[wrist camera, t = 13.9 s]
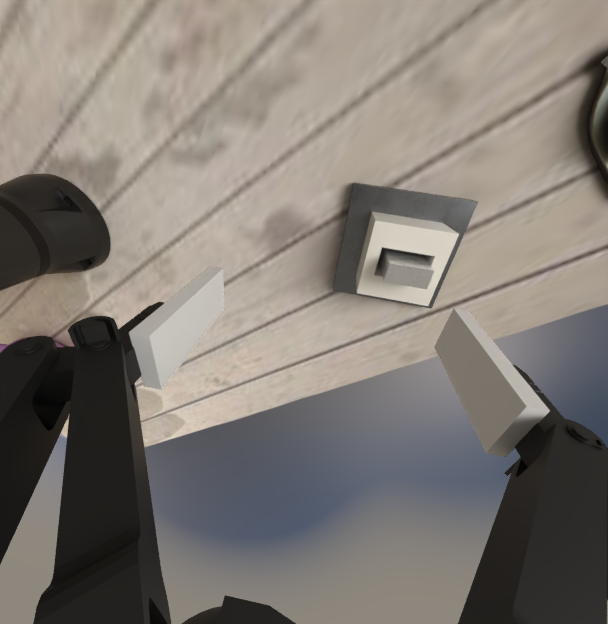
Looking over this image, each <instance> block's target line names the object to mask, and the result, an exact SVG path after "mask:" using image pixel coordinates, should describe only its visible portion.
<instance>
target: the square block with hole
mask: <svg viewBox="0 0 608 624" xmlns="http://www.w3.org/2000/svg"><path fill="white" fill-rule="evenodd" d="M458 236H459V234H458V233H457V232H455V231H454V230H452V229H451V228H449V227H448V226H447V225H445V224H444V223H440V222H434V221H428V220H422V219H415V218H409V217H403V216H397V215H390V214H384V213H378V212H372V213H371V217H370V221H369V225H368V229H367V233H366V237H365V241H364V245H363V249H362V254H361V258H360V262H359V266H358V270H357V274H356V289H357V293H359V294H364V295H370V296H375V297H381V298H386V299H391V300H397V301H402V302H408V303H413V304H419V305H424V306H428V305H429V303H430V301H431V298H432V296H433V294H434V291H435V289H436V287H437V284H438V282H439V280H440V278H441V275H442V273H443V271H444V268H445V266H446V264H447V261H448V259H449V257H450V254H451V252H452V250H453V247H454V245H455V243H456V241H457V238H458ZM382 247H383V248H389V249H395V250H401V251H407V252H412V253H418V254H422V255H423V256H424V257H425V259H426V260H427V261H428V263H429V264H430V265H431V267H432V268H433V269H434V273H433V276H432V278H431V281H430V283H429V286H428V288H427V289H421V288H415V287H410V286H404V285H398V284H393V283H387V282H384V281H383V277H382V273H381V269H380V265H379V262H378V260H379V256H380V253H381V249H382Z"/></svg>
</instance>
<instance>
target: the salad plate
mask: <svg viewBox="0 0 608 624" xmlns="http://www.w3.org/2000/svg"><path fill="white" fill-rule="evenodd" d="M601 63H602V64H603V65H604V66H605V67H607V70H606V74H605V77H604V80H603V82H602V84H601V86H600V88H599V91H598V93H597V95H596V98H595V100H594V103H593V105H592V108H591V111H590V115H589V119H588V137H589V141H590V145H591V150H592V154H593V156H594V157H595V159H596V161H597V164H598V166H599V169H600V171H601V173H602V175H603V177H604V179H605V181H606V183H607V184H608V55H607V56H606V57H605V58H604V59H603V60H602V61H601Z"/></svg>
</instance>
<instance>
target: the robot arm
mask: <svg viewBox="0 0 608 624" xmlns="http://www.w3.org/2000/svg"><path fill="white" fill-rule="evenodd" d="M109 251H110V237H109V232H108V229H107V226H106V224H105V221H104V219H103V217H102V216H101V214H100V212H99V211H98V209H97V208H96V206H95V205H94V204H93V202H92V201H91V200H90V199H89V198H88V197H87V196H86V195H85V194H84V193H83V192H82V191H81V190H80V189H79V188H77V187H76V186H75V185H73V184H72V183H70V182H68V181H67V180H65V179H63V178H60V177H58V176H55V175H51V174H28V175H23V176H20V177H17V178H15V179H13V180H11V181H8V182H6V183H4V184H2V185H0V291H1V290H3V289H6V288H9V287H11V286H14V285H17V284H19V283H22V282H25V281H27V280H30V279H32V278H35V277H38V276H41V275H44V274H54V273H71V272H82V271H87V270H90V269H92V268H94V267H97V266H99V265H101V264H102V263H103V262H104V261H105V260H106V259H107V257H108V255H109ZM224 309H225V307H224V281H223V268H217V267H212V266H210V267H209V268H207V269H206V270H205V271H204V272H202V273H201V274H200V275H199V276H197V277H196V278H195V279H194V280H193V281H191V282H190V283H189V284H188V285H186V286H185V287H184V288H183V289H181V290H180V291H179V292H178V293H177V294H175V295H174V296H173V297H172V298H170V299H169V300H168V301H167V302H165V303H163V302H158V303H156V304H153V305H151V306H149V307H147V308H146V309H145V310H143V311H142V312H141V314H138V315H137V316H135V317H134V319H131V320H130V321H129V322H128V323H126V324H125V325H124V326H122V327H121V328H120V329H118V328H117V325H116V322H115V320H114V319H113V318H110V317H107V316H95V317H89V318H85V319H82V320H80V321H78V322H76V323H74V324H73V325H72V326H70V328H69V330H68V332H69V334H70V337H71V339H72V341H73V344H74V346H75V347H57V346H56V344H55V342H54V340H53V339H52V338H50V337H47V336H35V337H28V338H24V339H21V340H18V341H17V342H15V343H12V344H10V345H9V346H7V347H6V348H5V349H4V350H3V351H2V352H1V353H0V564H1V561H2V559H3V557H4V555H5V553H6V551H7V549H8V546H9V544H10V541H11V540H12V537H13V535H14V533H15V531H16V529H17V527H18V525H19V522H20V520H21V518H22V516H23V514H24V511H25V509H26V507H27V505H28V503H29V500H30V498H31V496H32V494H33V492H34V489H35V487H36V485H37V483H38V481H39V479H40V476H41V474H42V472H43V470H44V468H45V466H46V463H47V461H48V459H49V457H50V454H51V453H52V450H53V448H54V446H55V444H56V442H57V439H58V437H59V435H60V433H61V431H62V429H63V426H64V424H65V422H66V420H67V418H68V416H69V425H68V435H67V445H66V456H65V465H64V476H63V486H62V496H61V506H60V516H59V526H58V537H57V546H56V556H55V566H54V574H53V579H52V581H51V584H50V586H49V587H48V588H47V589H46V590H45V591H44V593H43V594H42V595H41V597H40V600H39V603H38V605H37V609H36V613H35V618H34V623H33V624H171V619H170V612H169V606H168V600H167V595H166V590H165V587H164V582H163V578H162V572H161V566H160V558H159V552H158V545H157V537H156V530H155V523H154V515H153V509H152V502H151V494H150V487H149V480H148V472H147V465H146V458H145V451H144V443H143V436H142V429H141V422H140V415H139V407H138V400H137V393H136V387H135V384H134V383H135V382H136V381H137V380H138V379H139V378H140V376H141V378H142V381H143V385H144V386H145V387H151V388H156V389H161V390H162V389H163V387H164V386H165V385H166V383H167V382H168V381H169V380H170V378H171V377H172V376H173V375H174V373H175V372H176V371H177V369H178V368H179V367H180V366H181V364H182V363H183V362H184V360H185V359H186V358H187V357H188V355H189V354H190V353H191V352H192V350H193V349H194V348H195V346H196V345H197V344H198V343H199V341H200V340H201V339H202V338H203V336H204V335H205V334H206V332H207V331H208V330H209V329H210V327H211V326H212V325H213V323H214V322H215V321H216V320H217V318H218V317H219V316H220V315H221V313H222V312H223V311H224ZM435 349H436V351H437V353H438V355H439V357H440V359H441V362H442V364H443V366H444V368H445V369H446V372H447V374H448V376H449V378H450V380H451V382H452V384H453V386H454V388H455V390H456V392H457V395H458V396H459V399H460V400H461V403H462V405H463V407H464V409H465V411H466V413H467V415H468V417H469V419H470V421H471V423H472V425H473V427H474V429H475V431H476V434H477V436H478V438H479V439H480V442H481V444H482V446H483V448H484V450H485V452H486V453H488V454H493V455H498V456H504V457H506V456H507V455H508V454H509V453H510V452H511V451H512V450H513V449H514V448H516V450H517V452H518V453H519V455H520V457H521V458H519V459H518V460H517V461H516V462H515V463H514V464H513V465H512V466H511V467H510V468H509V469H508V470H507V471H506V472H505V474H506V475H507V476H508V475H509V474H510V473H511V476H510V479H509V482H508V485H507V487H506V490H505V493H504V496H503V499H502V501H501V504H500V507H499V510H498V513H497V516H496V518H495V521H494V524H493V527H492V530H491V532H490V536H489V538H488V541H487V544H486V546H485V549H484V552H483V555H482V558H481V561H480V563H479V566H478V569H477V572H476V575H475V577H474V580H473V583H472V586H471V589H470V592H469V594H468V597H467V600H466V603H465V605H464V608H463V611H462V614H461V617H460V620H459V623H458V624H607V599H608V448H607V447H606V445H605V444H604V443H603V441H602V440H601V439H600V438H599V437H598V436H597V435H595V434H594V433H593V432H592V431H591V430H589V429H587V428H586V427H584V426H583V425H581V424H579V423H577V422H574V421H571V420H567V419H564V418H563V416H562V415H561V414H560V413H559V412H558V411H557V409H556V408H555V407H554V406H553V405H552V403H551V402H550V401H549V400H548V399H547V398H546V396H545V395H544V394H543V393H541V390H540V389H539V388H538V387H537V386H536V385H534V382H533V381H532V380H531V379H530V378H529V376H528V375H527V374H526V373H524V372H523V371H522V370H521V369H519V368H518V367H517V366H515V365H512V364H511V363H510V361H509V360H508V359H507V358H506V357H505V355H504V354H503V353H502V352H501V350H500V349H499V348H498V347H497V346H496V344H495V343H494V342H493V341H492V339H491V338H490V337H489V336H488V335H487V333H486V332H485V331H484V330H483V328H482V327H481V326H480V325H479V324H478V322H477V321H476V320H475V319H474V318H473V316H472V315H471V314H470V313H469V311H467V310H461V309H456V308H454V309H453V311H452V313H451V315H450V317H449V319H448V321H447V323H446V325H445V327H444V329H443V331H442V333H441V335H440V337H439V339H438V341H437V343H436V345H435ZM69 413H70V415H69ZM182 624H296V623H294V622H292V621H291V620H290V619H288V618H287V617H285V616H284V615H282V614H281V613H279V612H278V611H276V610H275V609H273V608H272V607H271V606H268V605H264V604H260V603H256V602H251V601H247V600H243V599H238V598H234V597H230V596H225V598H224V601H223V605H222V606H221V607H216V608H212V609H209V610H206V611H203V612H201V613H199V614H197V615H195V616H193V617H191V618H189V619H188V620H186V621H185V622H183V623H182Z"/></svg>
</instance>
